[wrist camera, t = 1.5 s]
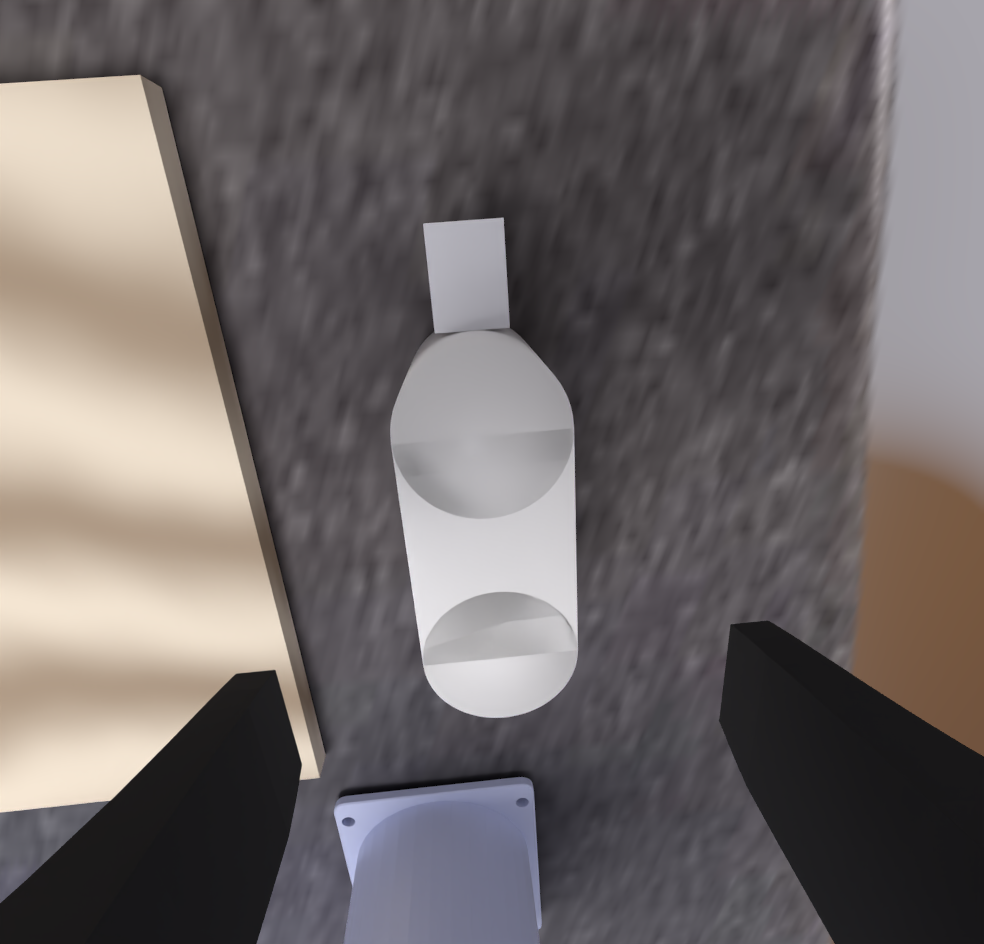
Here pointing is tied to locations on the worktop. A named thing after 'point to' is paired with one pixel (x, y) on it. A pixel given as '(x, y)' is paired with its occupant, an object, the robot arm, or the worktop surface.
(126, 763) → the pad
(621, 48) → the worktop surface
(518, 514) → the plug
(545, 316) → the worktop surface
